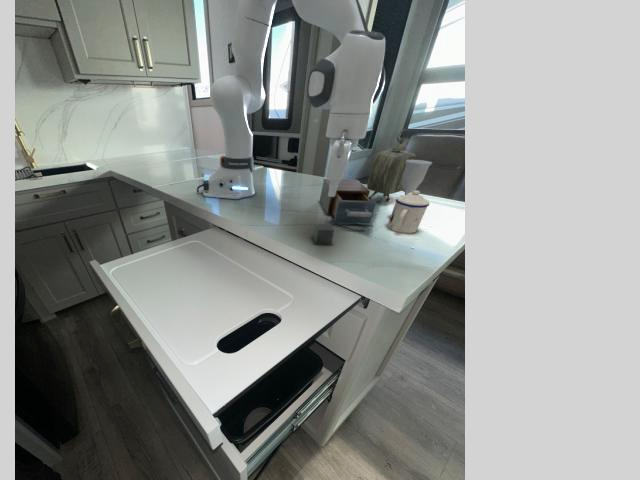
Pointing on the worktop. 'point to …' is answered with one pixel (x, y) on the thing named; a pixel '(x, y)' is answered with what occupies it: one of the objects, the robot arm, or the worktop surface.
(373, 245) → the worktop surface
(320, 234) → the block
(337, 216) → the drawer
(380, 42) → the robot arm
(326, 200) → the cabinet
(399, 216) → the teacup with lid
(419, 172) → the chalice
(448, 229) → the worktop surface
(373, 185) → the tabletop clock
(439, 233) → the worktop surface
